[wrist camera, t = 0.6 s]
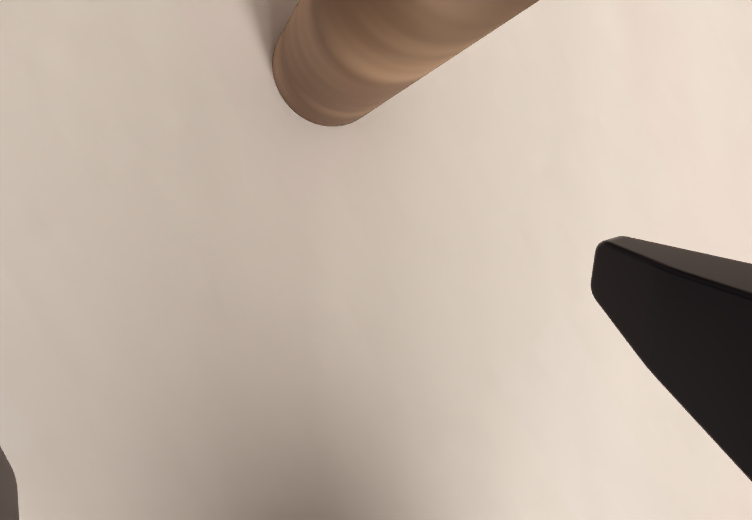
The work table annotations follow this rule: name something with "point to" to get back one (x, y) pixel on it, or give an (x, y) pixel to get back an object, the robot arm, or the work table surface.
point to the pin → (373, 49)
